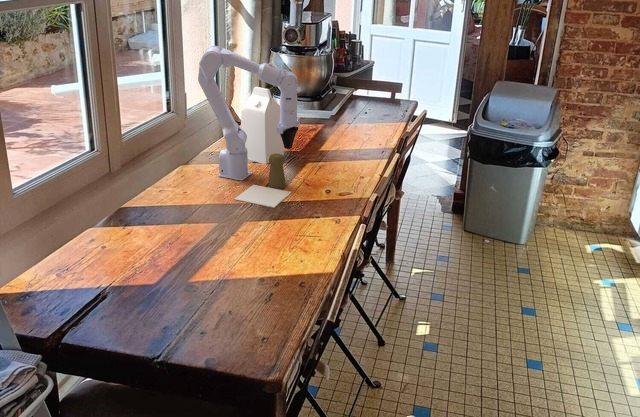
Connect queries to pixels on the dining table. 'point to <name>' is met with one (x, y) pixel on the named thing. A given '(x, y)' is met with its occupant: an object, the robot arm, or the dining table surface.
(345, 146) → the dining table surface
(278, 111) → the milk
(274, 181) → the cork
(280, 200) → the mat
